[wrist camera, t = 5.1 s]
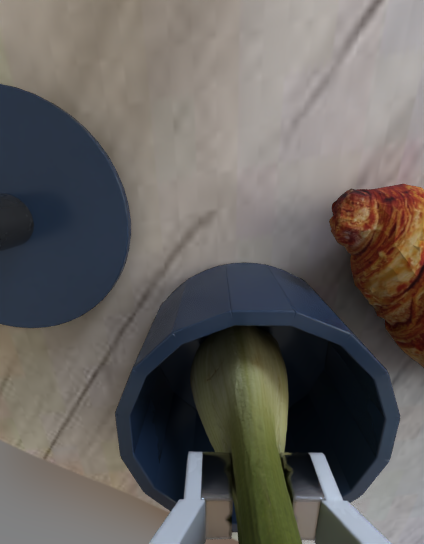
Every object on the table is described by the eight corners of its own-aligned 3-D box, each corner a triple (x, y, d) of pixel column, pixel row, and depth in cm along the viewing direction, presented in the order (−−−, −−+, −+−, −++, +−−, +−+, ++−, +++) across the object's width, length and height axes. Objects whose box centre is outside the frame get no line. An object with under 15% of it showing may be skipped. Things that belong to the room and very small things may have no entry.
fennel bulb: (249, 403, 18) (310, 792, 7) (176, 375, 17) (106, 752, 6) (295, 329, 16) (485, 676, 5) (217, 295, 16) (229, 602, 4)
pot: (156, 422, 19) (128, 531, 13) (144, 261, 16) (101, 309, 10) (323, 424, 19) (372, 535, 13) (346, 262, 16) (427, 312, 10)
